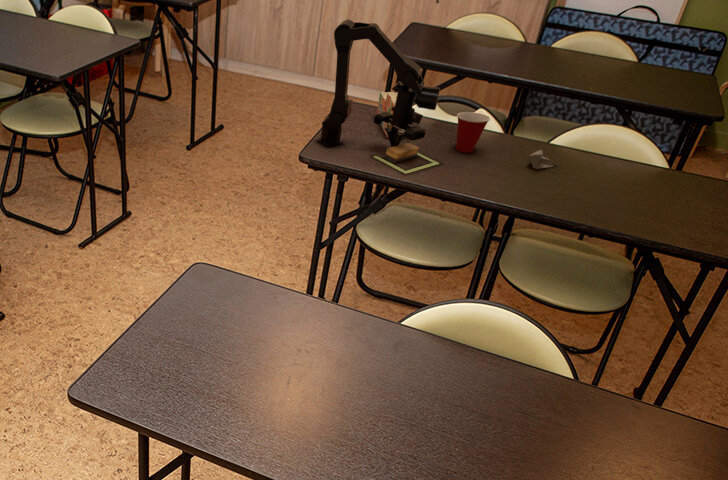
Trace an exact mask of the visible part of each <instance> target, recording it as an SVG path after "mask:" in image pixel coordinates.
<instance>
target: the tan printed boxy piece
mask: <svg viewBox="0 0 728 480" xmlns="http://www.w3.org/2000/svg"><path fill="white" fill-rule="evenodd" d="M397 93H398V92H397V91H388V92H387V91H380V92H379V96H378V103H377V109H376V114H379V113H383V112H388V113H390V114H393V111H392V110H391V108H392V107H394V106H395V102H396V97H397ZM380 127H381V128H382V130H383V133H384V134H385V136H386V137H385V138H387V139H389V137H388V134H387V132H386V130H385V128H387V123H386V122H384V121H382V123H381V124H380Z"/></svg>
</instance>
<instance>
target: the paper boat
mask: <svg viewBox="0 0 728 480" xmlns="http://www.w3.org/2000/svg"><path fill="white" fill-rule="evenodd" d="M528 160H529V161H530V164H531V166H532V168H533V169H535V170H538V169H544V168H551V167H554V164H553V163H552V162H551V159H550V158H549V157H548V156H547V155H546V154H545V152H544V151H543V149H539V150H537V151H535V152H532V153H531V154H529V155H528ZM553 161H557V162H558V161H559V160H558V159H556V158H554V159H553Z"/></svg>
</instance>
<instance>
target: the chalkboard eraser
mask: <svg viewBox="0 0 728 480" xmlns="http://www.w3.org/2000/svg"><path fill="white" fill-rule="evenodd" d="M419 148H420V147H418V146H416V145H414V144H412V143H410V142H405V143H402V144H401V143H400V144H399V145H398V146H394V147H391V146H390V147H388V148H386V153H385V160H387V161H390V162H391V163H393V164H396V163H397V164H398V163H400V162H403V161H406V160H407V161H408V160H410V159H415V158H417V157H418V155H417V153H419V150H420V149H419Z"/></svg>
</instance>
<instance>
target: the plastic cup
mask: <svg viewBox="0 0 728 480" xmlns="http://www.w3.org/2000/svg"><path fill="white" fill-rule="evenodd" d="M456 117H457V128H456V129H457V131H456V143H455V149H456V150H457V151H458V152H461V153H467V154H468V153H473V151H474V150H475V148H476V145H477V144H478V142H479V140H480V138H481V136H482V134H483V132H484V130H485V128H486V126H487V125H488V122H489V121H490V120H491V117H490V116H489V115H487V114H483V113H480V112H472V111H471V112H470V111H464V112H463V111H462V112H458V113H457V114H456Z"/></svg>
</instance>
